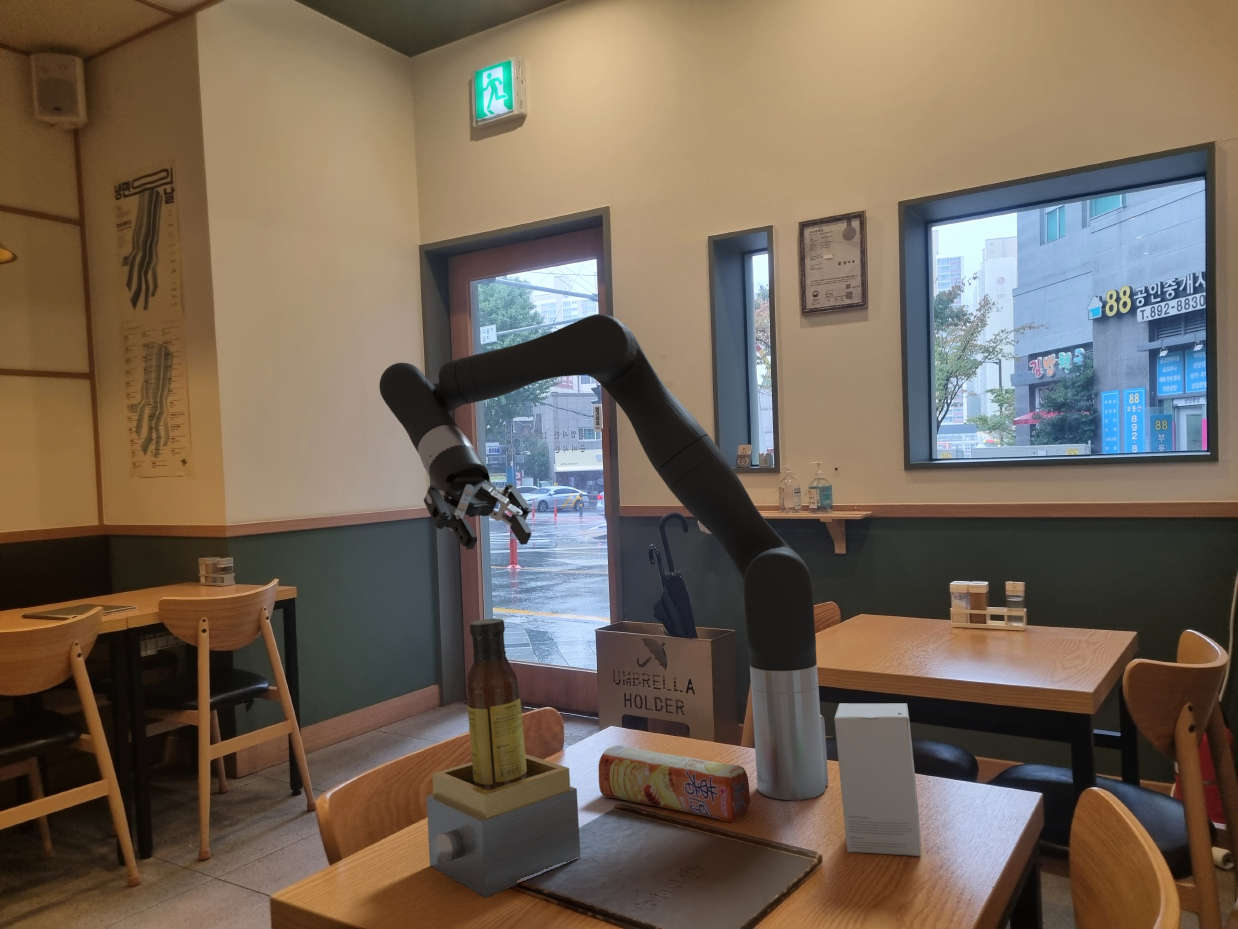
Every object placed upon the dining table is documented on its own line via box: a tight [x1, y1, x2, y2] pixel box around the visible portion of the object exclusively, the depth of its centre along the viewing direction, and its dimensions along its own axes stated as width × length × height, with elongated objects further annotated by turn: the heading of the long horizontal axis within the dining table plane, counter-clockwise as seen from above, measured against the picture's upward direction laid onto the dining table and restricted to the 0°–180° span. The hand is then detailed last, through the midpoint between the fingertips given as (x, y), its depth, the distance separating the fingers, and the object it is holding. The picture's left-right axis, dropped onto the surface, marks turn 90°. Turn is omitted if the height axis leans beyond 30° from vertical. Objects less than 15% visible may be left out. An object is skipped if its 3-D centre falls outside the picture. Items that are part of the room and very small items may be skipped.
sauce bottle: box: [465, 618, 527, 791], centre depth 99 cm, size 6×6×20 cm
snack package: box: [598, 744, 751, 823], centre depth 114 cm, size 21×7×7 cm, turn 55°
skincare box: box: [833, 702, 922, 857], centre depth 97 cm, size 8×7×16 cm
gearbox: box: [426, 753, 581, 898], centre depth 98 cm, size 15×12×10 cm
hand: (500, 542), depth 112 cm, fingers open, 8 cm apart
